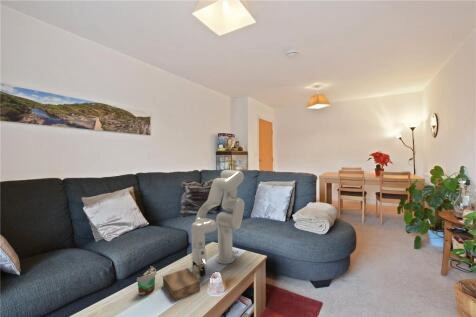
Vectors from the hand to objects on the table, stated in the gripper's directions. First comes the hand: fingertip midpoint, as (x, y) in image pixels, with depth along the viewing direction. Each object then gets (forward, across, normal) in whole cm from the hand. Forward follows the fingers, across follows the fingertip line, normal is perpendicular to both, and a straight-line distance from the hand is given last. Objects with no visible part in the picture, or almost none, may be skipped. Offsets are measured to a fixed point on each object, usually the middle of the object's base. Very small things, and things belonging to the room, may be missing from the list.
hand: (198, 272), depth 132 cm
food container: (+2, +3, +27) cm, 27 cm away
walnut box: (+2, -5, +13) cm, 14 cm away
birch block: (+2, 0, 0) cm, 2 cm away
